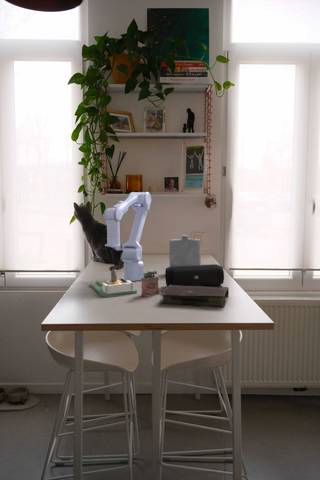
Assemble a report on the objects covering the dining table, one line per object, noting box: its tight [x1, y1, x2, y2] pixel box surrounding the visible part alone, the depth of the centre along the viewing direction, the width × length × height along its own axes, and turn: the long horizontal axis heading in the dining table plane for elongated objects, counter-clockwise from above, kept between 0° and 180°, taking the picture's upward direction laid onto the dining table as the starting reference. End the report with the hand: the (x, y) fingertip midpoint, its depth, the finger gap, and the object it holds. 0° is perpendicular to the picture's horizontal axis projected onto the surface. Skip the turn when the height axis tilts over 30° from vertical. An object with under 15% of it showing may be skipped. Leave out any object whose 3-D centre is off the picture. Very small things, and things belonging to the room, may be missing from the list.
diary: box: [159, 285, 229, 309], centre depth 188 cm, size 19×25×5 cm
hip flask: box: [168, 234, 202, 267], centre depth 240 cm, size 16×4×20 cm, turn 85°
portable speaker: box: [164, 263, 225, 287], centre depth 211 cm, size 26×10×10 cm, turn 97°
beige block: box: [105, 269, 123, 285], centre depth 206 cm, size 6×5×8 cm
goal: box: [102, 280, 134, 294], centre depth 202 cm, size 12×6×4 cm, turn 112°
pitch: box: [89, 279, 138, 298], centre depth 209 cm, size 15×23×2 cm, turn 22°
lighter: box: [140, 270, 160, 297], centre depth 198 cm, size 8×3×10 cm, turn 118°
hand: (114, 263), depth 214 cm, fingers open, 7 cm apart
